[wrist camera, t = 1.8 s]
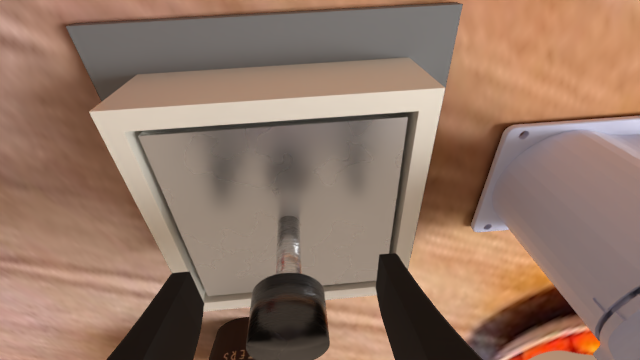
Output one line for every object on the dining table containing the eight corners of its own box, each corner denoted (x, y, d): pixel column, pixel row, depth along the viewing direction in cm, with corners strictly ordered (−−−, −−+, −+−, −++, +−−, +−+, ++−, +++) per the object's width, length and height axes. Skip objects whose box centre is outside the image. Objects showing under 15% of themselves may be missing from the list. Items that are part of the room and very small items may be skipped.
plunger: (403, 111, 12) (483, 219, 7) (382, 272, 18) (418, 392, 13) (143, 130, 11) (35, 257, 7) (209, 288, 17) (178, 418, 12)
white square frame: (409, 57, 14) (445, 87, 11) (385, 240, 21) (403, 292, 18) (137, 74, 13) (88, 111, 10) (207, 256, 20) (192, 312, 17)
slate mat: (456, 2, 13) (462, 4, 13) (408, 251, 23) (410, 257, 22) (74, 23, 13) (65, 26, 12) (188, 270, 22) (186, 277, 22)
